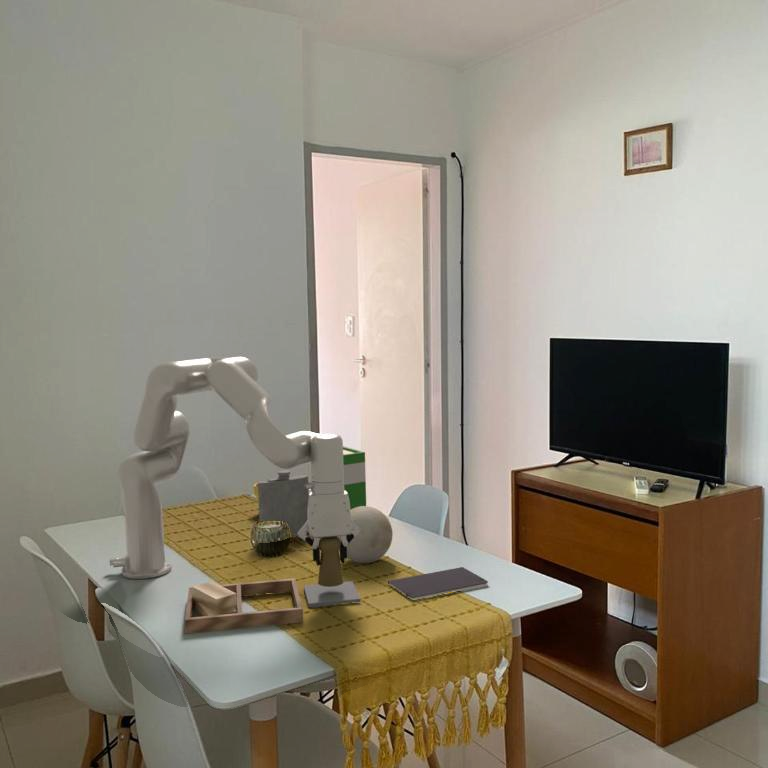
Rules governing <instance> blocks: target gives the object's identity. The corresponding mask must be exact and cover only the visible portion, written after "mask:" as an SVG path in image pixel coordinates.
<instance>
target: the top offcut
mask: <svg viewBox="0 0 768 768" xmlns="http://www.w3.org/2000/svg"><path fill="white" fill-rule="evenodd" d="M220 585H221V584H218V583H216V582H214V581H209V582H205V583H201V584H198V585H194V586H192V588H193V600H195V601H197V602H199V603H200V604H202V605H204V606H206V607H208V608H210V609H211V610H213V611H215V612H221V611H224V610H227V609H231V608H234V609H235V608H237V595H236V593H234V592H232V591H230V590H228V589H226V588H224V587H222V586H220Z"/></svg>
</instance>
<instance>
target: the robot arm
mask: <svg viewBox="0 0 768 768" xmlns="http://www.w3.org/2000/svg"><path fill="white" fill-rule="evenodd" d="M258 375H259V373H258V369H257V366H256V365H255V364H254V362H253V361H252V360H251V359H249V358H247V357H244V356H231V357H206V358H204V357H203V358H194V359H185V360H177V361H176V360H175V361H168V362H163V363H160V364H157V365H156V366H155V367H153V368H152V370H151V371H150V372H149V373H148V376H147V379H146V385H145V391H144V395H143V397H142V398H143V400H142V403H141V406H140V410H139V412H138V413H139V414H138V416H137V421H136V424H135V427H134V428H135V429H134V432H133V441H134V444H135V447H137V449H139V450H141V451H139V452H135V453H132V454H130V455H127V457H125V458H123V459H122V461H121V463H120V464H119V466H118V469H117V475H118V476H117V477H118V482H119V485H120V489H121V493H122V501H123V511H124V512H123V513H124V514H123V515H124V523H125V524H124V528H125V529H124V530H125V541H126V542H125V544H126V555H124V556H123V555H122V557H112V558H109V566H110V567H113V568H120V567H121V576H122V577H124V578H128V579H132V580H133V579H134V580H139V579H141V580H143V579H144V580H145V579H152V578H157V577H161V576H163V575H165V574H168V573H169V572H170V571H172V568H173V567H172V563H171V562H169V561H168V560H166V555H165V553H166V551H165V538H164V537H165V536H164V533H165V531H164V515H163V503H162V498H161V496H160V494H159V492H158V490H157V488H156V486H158V485H161V484H164V483H166V482H169V481H171V480H173V479H175V477H176V476H177V475H178V474H179V471H180V469H181V465H182V463H183V460H184V459H183V458H184V455H185V453H186V448H187V445H188V442H189V438H190V432H191V430H190V429H191V428H190V423H189V421H188V418H187V417H186V416H185V415H184V414H183V413H182V412H181V411H178V410H177V408H178V395H183V396H184V395H191V394H197V393H202V392H209V391H214V392H215V393H216V395H218V396H219V397H220V398H221V399H222V401H224V402H225V403H226V404H227V405H228V406H229V407H230V408H231V409H232V410H233V412H235V414H237V415H238V416H239V417H240V418H241V419H242V420H243V422H244V425H245V429H246V432H247V435H248V437H249V438H250V441H251V443H252V444H253V446H254V447H255V448H256V450H258V452H259V453H260V454H261V455H263V456H264V458H265V459H266V460H268V461H269V462H270V463H272V465H274V466H276V467H277V468H279V469H284V470H289V469H292V468H295V467H297V466H300V465H303V464H307V463H310V468H311V470H310V471H311V480H310V481H309V482H308V484H306V489H309V491H311V492H309V499H308V509H307V521H306V523H305V524H304V525H303V526H302V528H301V529H300V530H299V532H298V537H299V538H300V539H302V541H305V543H307V544H308V545H309V547H311V548H312V561H313V562H315V564H316V566H320V559H321V550H320V549H319V540H320V539H321V538H322V537H335V536H340V538H341V546H340V549H339V557H340V563H341V564H345V562H346V559H348V558H347V546H348V544H349V543H350V542H351V540H352V539H353V538H354V537H355V536H356V535H357V534H358V533H359V532H360V531H361V529H360V528H359V527H358V526H357V524H356V523H355V522H354V521H353V520H352V519H351V511H350V502H349V497H348V493H347V492H346V491H344V468H343V446H344V442H343V441H344V440H343V438H342V436H340V435H339V434H336V433H317V432H312V431H308V430H300V431H296V432H293V433H289V434H285V433H283V431H281V430H280V429H279V428H278V427H277V426H276V425H275V424H274V422H273V421H272V420H271V418H270V416H269V414H268V413H269V412H268V409H269V407H270V405H271V401H272V399H271V396H270V394H269V393H267V392H266V391H265V389H263V388H262V387H261V386H260V385H259V384H258V383H257V380H258V378H259V376H258ZM352 528H353V530H352ZM307 530H308V533H309V534H305V533H306V531H307ZM351 530H352V531H351ZM345 535H347V536H345Z"/></svg>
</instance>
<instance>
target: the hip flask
mask: <svg viewBox="0 0 768 768" xmlns="http://www.w3.org/2000/svg"><path fill="white" fill-rule="evenodd" d="M277 475H278V477H275V478H270V479H266V480H260V481H259V480H258V481H257V483H258V502H257V504H258V503H259V506H258V521H259V522H261V521H274V520H278V521H283V522H286V523H287V524H288V526H289V529H290V533H291V537H293V538H295V537H294V536H298V532H299V530H300V529H301V528H302V526H303V525H304V524H305V523H306V521H307V509H308V499H309V494H310V492H309V491H310V490H309V489H306V484H308V483H309V475H306V474H303V475H301V474H299V475H296V476H290V475H291V471H290V470H288V469H284V470H280V471H279V470H278V471H277ZM259 522H258V523H259ZM306 533H308V530H307V531H306ZM298 537H299V536H298Z"/></svg>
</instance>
